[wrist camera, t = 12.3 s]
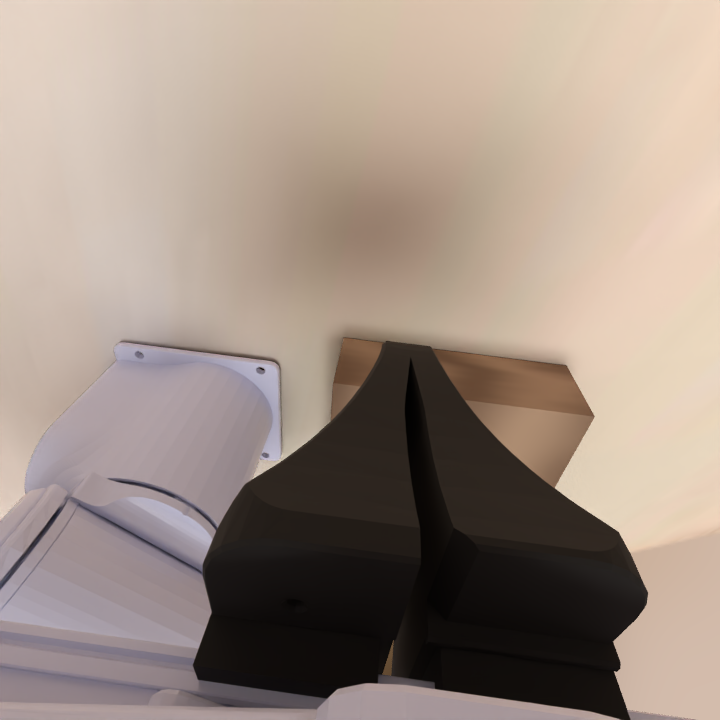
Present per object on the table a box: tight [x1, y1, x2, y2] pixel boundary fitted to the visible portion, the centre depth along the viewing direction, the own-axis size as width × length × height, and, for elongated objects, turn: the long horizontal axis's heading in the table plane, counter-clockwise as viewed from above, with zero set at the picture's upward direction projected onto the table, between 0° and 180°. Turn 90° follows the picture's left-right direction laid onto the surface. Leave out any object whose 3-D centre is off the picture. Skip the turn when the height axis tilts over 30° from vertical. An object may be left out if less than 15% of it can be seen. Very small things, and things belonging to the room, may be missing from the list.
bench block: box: [331, 338, 595, 488], centre depth 24 cm, size 12×12×4 cm
